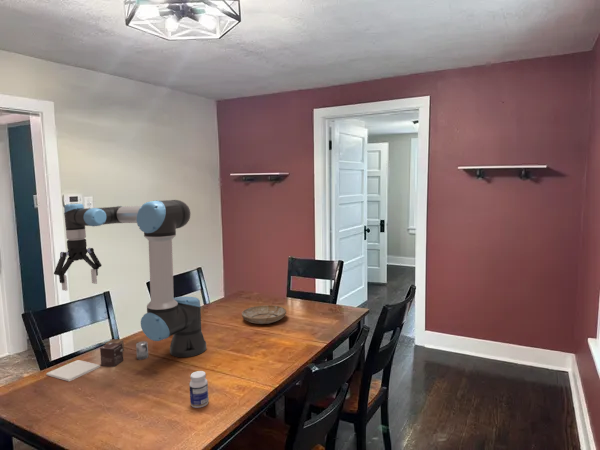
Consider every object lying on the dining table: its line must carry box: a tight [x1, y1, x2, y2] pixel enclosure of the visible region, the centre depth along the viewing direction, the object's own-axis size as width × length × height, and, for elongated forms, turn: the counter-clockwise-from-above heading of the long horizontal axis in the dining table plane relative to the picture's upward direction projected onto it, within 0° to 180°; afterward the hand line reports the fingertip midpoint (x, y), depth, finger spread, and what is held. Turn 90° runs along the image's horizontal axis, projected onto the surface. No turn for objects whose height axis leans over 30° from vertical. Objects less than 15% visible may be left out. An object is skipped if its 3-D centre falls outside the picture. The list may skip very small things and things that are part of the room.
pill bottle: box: [188, 370, 210, 409], centre depth 131 cm, size 6×6×10 cm
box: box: [99, 343, 124, 367], centre depth 164 cm, size 6×6×7 cm
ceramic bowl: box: [241, 304, 287, 325], centre depth 213 cm, size 23×24×5 cm
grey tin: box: [135, 340, 149, 361], centre depth 169 cm, size 4×4×6 cm
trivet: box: [46, 359, 101, 382], centre depth 158 cm, size 13×13×1 cm
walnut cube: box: [104, 338, 125, 352], centre depth 175 cm, size 5×5×5 cm
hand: (80, 286), depth 181 cm, fingers open, 13 cm apart
